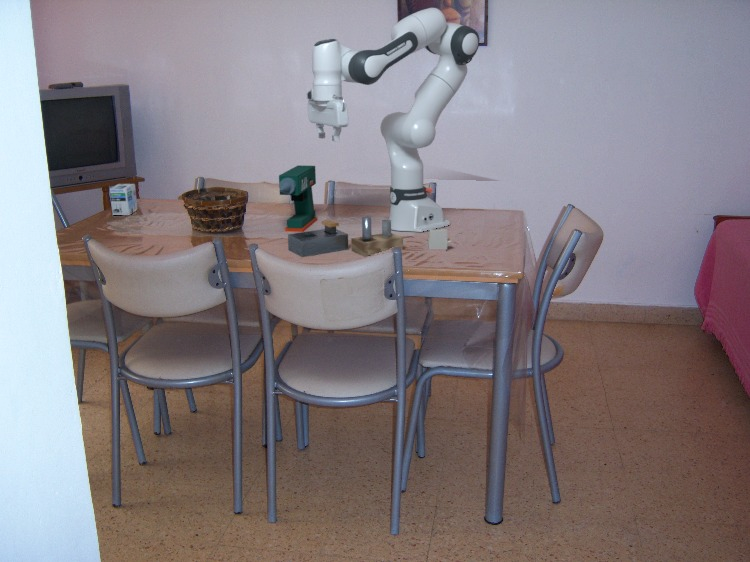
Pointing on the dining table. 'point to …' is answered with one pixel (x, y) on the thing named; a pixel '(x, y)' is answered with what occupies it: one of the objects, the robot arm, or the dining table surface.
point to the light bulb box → (123, 199)
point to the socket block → (317, 242)
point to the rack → (377, 241)
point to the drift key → (330, 226)
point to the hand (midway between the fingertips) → (328, 139)
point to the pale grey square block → (438, 239)
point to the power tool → (299, 196)
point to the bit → (366, 229)
